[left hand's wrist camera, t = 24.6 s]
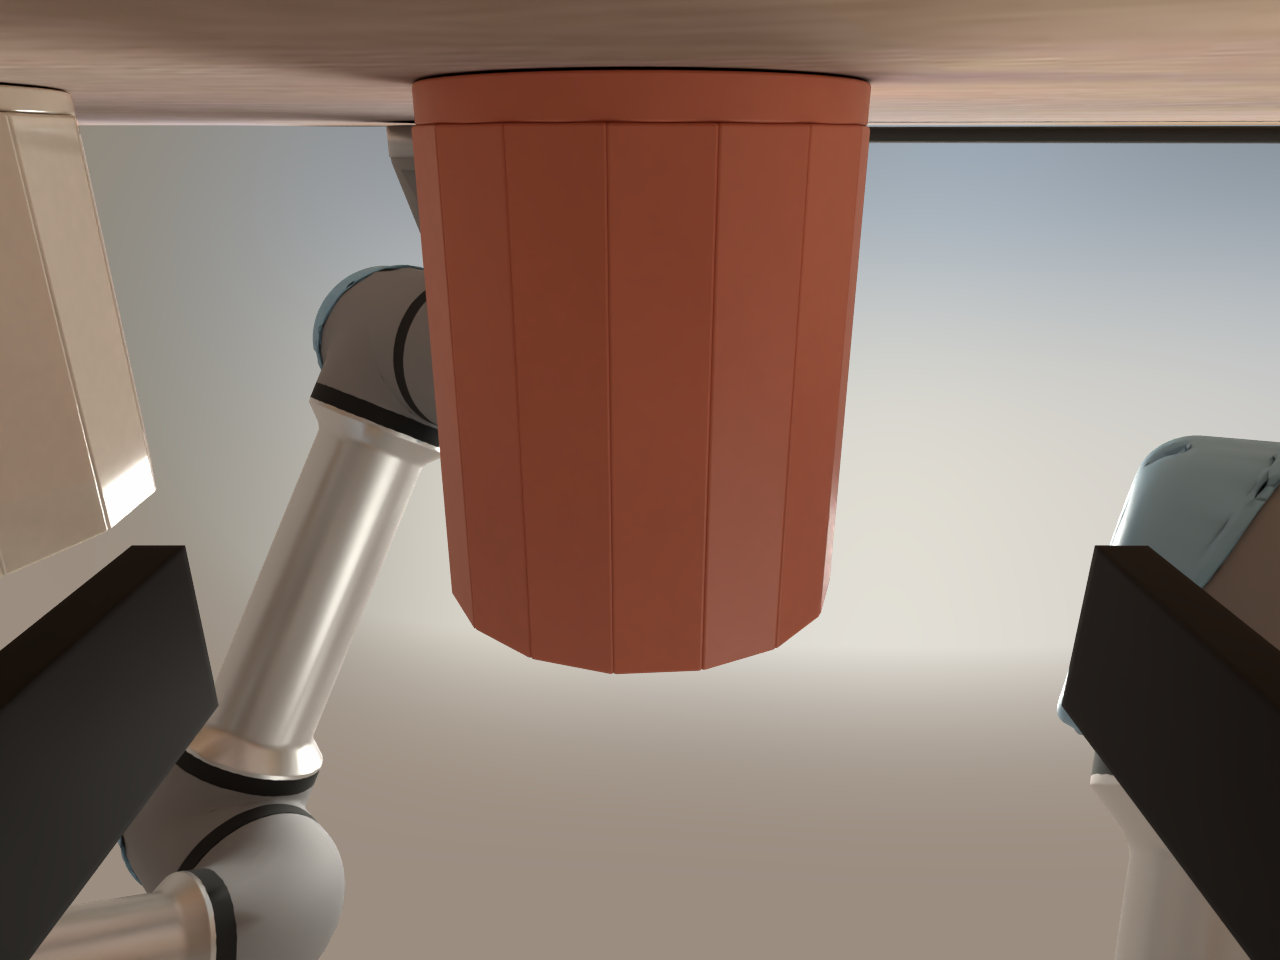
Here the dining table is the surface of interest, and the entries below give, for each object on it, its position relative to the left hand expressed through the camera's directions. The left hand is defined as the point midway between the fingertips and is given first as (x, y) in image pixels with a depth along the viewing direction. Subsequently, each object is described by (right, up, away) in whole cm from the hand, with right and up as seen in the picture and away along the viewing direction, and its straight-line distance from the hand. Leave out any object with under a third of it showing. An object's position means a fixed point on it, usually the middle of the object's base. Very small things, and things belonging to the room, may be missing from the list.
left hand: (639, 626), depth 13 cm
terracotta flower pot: (0, +10, +5) cm, 12 cm away
